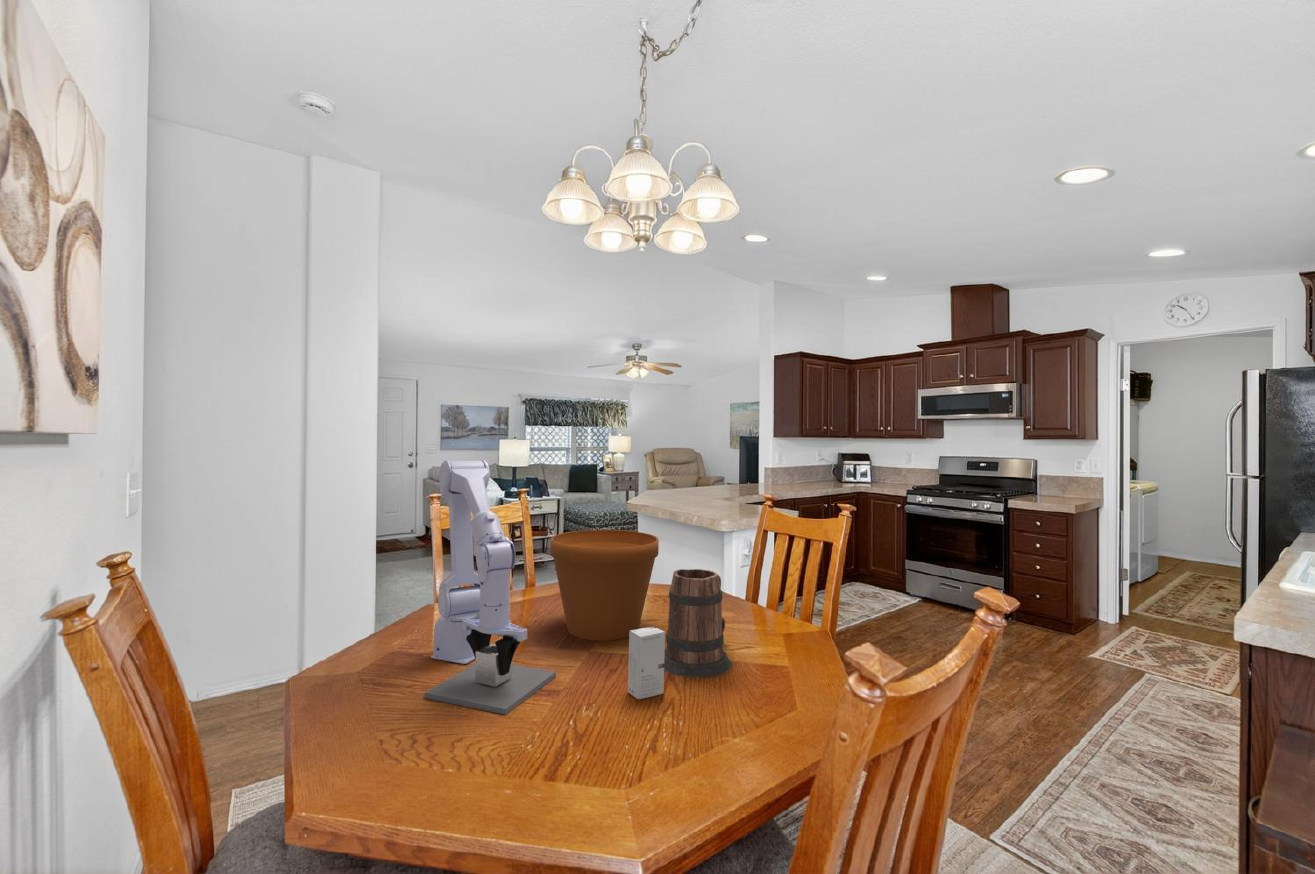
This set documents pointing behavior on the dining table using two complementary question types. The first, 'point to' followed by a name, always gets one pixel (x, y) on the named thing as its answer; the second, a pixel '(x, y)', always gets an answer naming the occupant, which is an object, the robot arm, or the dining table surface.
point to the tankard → (695, 625)
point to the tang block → (491, 689)
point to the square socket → (489, 667)
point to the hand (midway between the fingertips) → (493, 671)
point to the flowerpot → (603, 580)
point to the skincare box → (646, 662)
